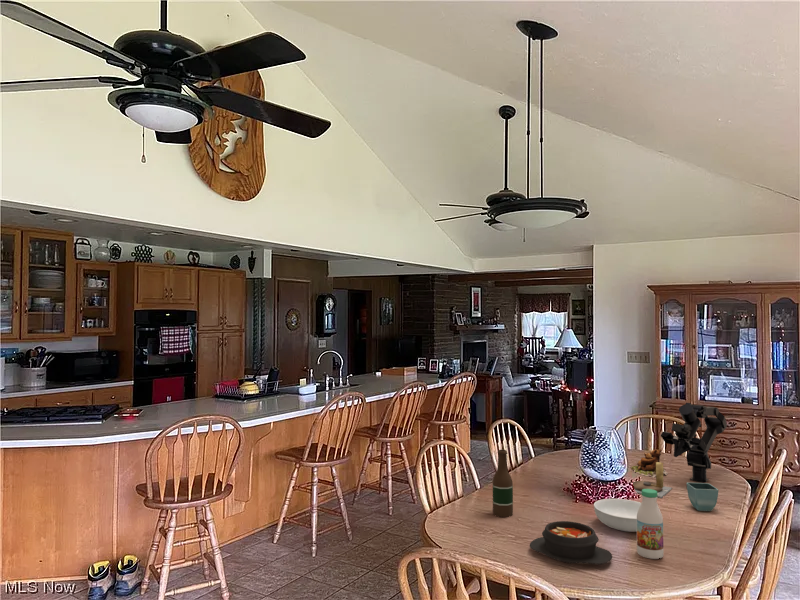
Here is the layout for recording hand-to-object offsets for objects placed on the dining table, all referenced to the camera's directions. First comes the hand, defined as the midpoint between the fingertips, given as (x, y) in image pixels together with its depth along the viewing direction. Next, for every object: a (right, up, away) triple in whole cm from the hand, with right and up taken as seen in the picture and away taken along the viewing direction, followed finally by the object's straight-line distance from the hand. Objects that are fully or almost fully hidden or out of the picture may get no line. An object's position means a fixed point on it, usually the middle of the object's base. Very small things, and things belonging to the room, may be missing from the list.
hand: (674, 456), depth 251 cm
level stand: (-13, -14, -3) cm, 19 cm away
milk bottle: (-41, -12, -70) cm, 82 cm away
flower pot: (-2, -13, -28) cm, 31 cm away
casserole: (-66, -12, -71) cm, 98 cm away
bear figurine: (-1, -15, +24) cm, 28 cm away
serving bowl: (-40, -13, -46) cm, 62 cm away
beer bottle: (-81, -13, -33) cm, 88 cm away
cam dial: (-13, -14, -3) cm, 19 cm away
